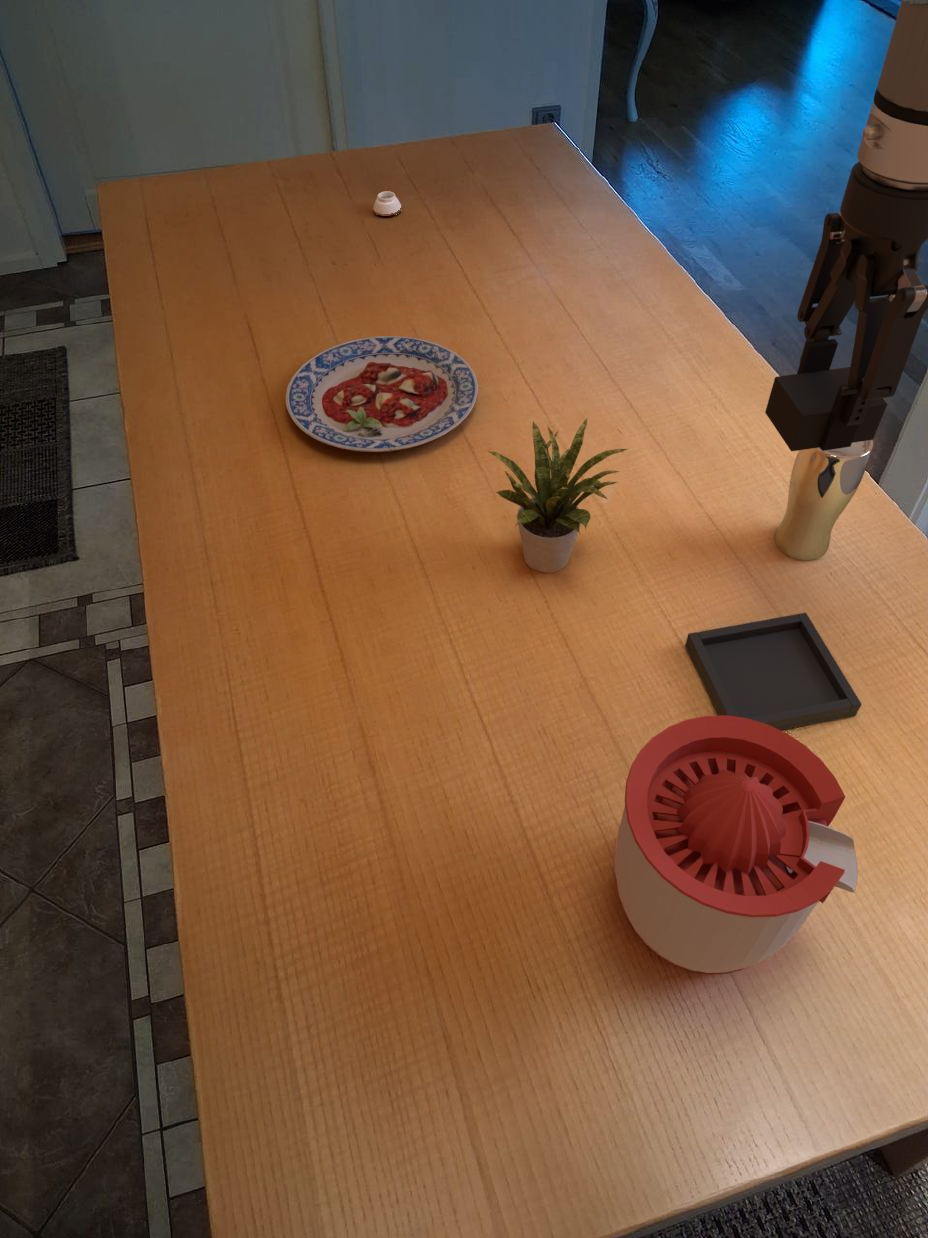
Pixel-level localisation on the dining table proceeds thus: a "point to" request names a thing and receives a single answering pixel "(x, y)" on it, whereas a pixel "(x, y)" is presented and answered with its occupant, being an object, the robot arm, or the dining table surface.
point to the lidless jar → (386, 203)
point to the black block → (814, 407)
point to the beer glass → (819, 497)
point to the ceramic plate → (381, 393)
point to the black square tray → (772, 673)
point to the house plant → (553, 500)
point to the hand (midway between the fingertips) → (818, 423)
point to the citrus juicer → (727, 842)
